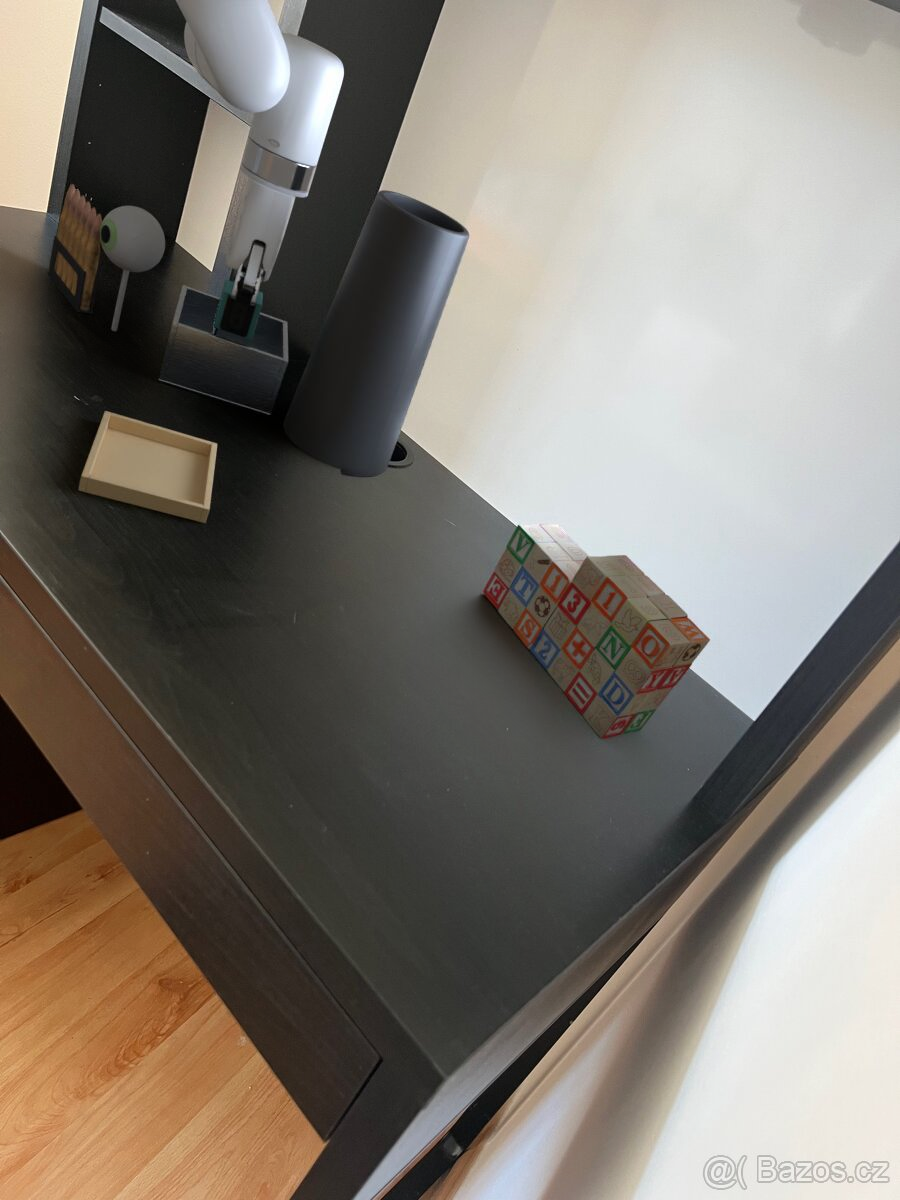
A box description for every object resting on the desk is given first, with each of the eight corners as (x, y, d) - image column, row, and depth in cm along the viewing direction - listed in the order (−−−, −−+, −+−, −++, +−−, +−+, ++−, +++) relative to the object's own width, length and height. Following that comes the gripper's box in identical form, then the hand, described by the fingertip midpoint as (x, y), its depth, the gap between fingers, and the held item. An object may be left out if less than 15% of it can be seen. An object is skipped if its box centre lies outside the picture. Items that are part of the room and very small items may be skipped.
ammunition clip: (47, 273, 110) (62, 179, 103) (62, 275, 111) (77, 182, 105) (77, 312, 104) (94, 215, 98) (92, 314, 106) (110, 218, 99)
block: (213, 327, 99) (223, 291, 97) (215, 314, 103) (225, 278, 100) (251, 340, 101) (262, 305, 99) (252, 327, 104) (262, 292, 102)
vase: (403, 458, 110) (498, 239, 95) (359, 489, 98) (459, 245, 83) (315, 407, 111) (395, 183, 96) (260, 431, 99) (342, 181, 84)
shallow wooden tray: (77, 495, 75) (81, 475, 74) (101, 428, 86) (105, 410, 85) (204, 527, 79) (209, 509, 78) (212, 460, 90) (217, 443, 89)
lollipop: (71, 314, 103) (94, 189, 96) (125, 317, 109) (150, 200, 101) (102, 343, 100) (127, 217, 93) (155, 345, 106) (183, 227, 98)
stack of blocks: (479, 592, 91) (530, 498, 84) (520, 590, 95) (572, 500, 89) (601, 740, 79) (672, 643, 72) (643, 731, 83) (713, 638, 77)
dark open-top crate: (156, 385, 98) (172, 322, 94) (168, 342, 108) (182, 284, 104) (269, 419, 103) (288, 361, 99) (269, 376, 113) (287, 321, 109)
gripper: (246, 139, 97) (207, 290, 107) (241, 171, 84) (197, 340, 94) (309, 166, 100) (265, 311, 109) (314, 201, 87) (263, 362, 96)
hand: (234, 322), depth 101 cm, fingers closed on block, 4 cm apart
